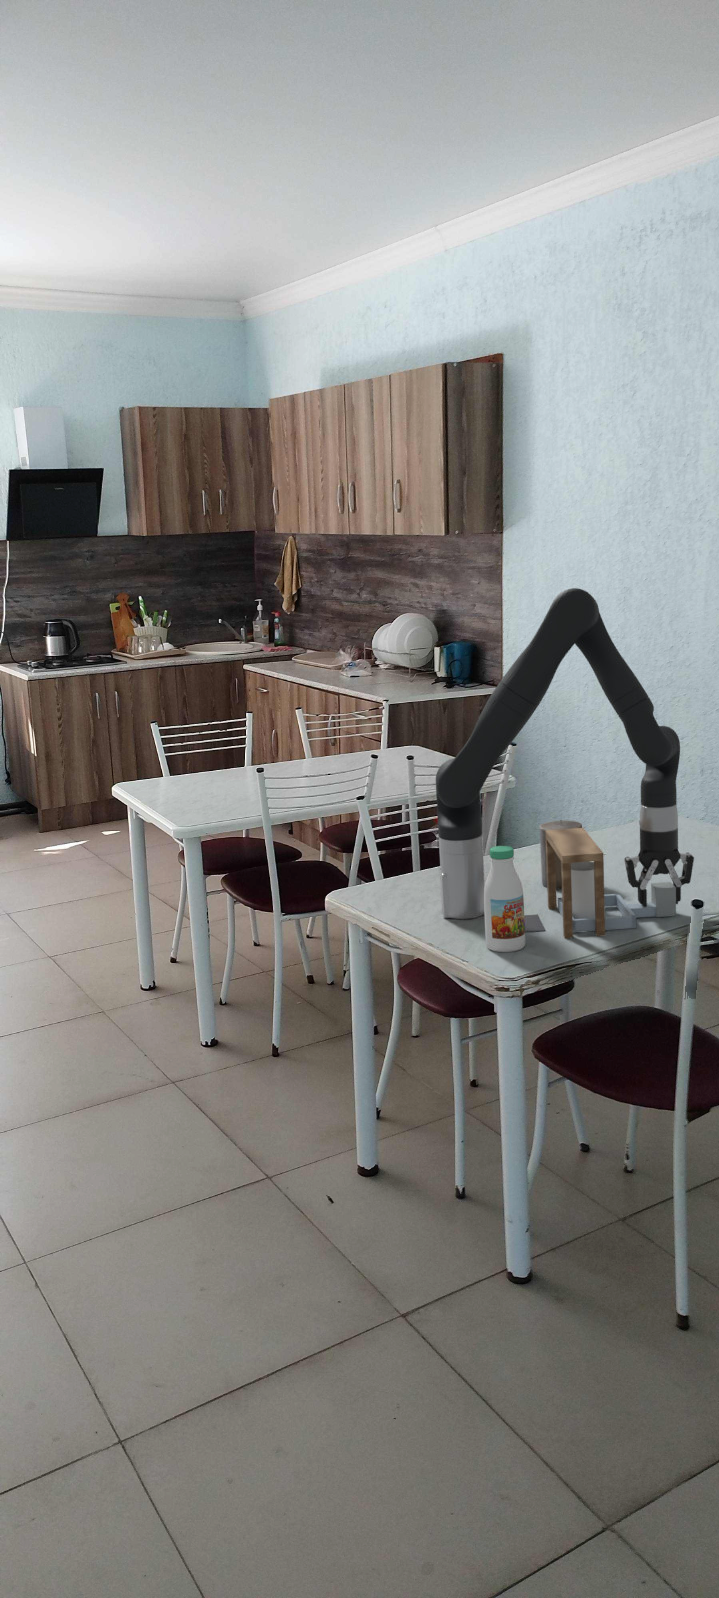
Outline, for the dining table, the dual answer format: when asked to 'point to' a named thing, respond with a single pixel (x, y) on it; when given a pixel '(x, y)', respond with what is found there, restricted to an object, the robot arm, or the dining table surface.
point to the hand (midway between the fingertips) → (659, 904)
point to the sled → (632, 909)
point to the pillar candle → (555, 826)
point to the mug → (583, 890)
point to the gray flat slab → (533, 923)
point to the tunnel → (570, 850)
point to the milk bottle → (503, 903)
